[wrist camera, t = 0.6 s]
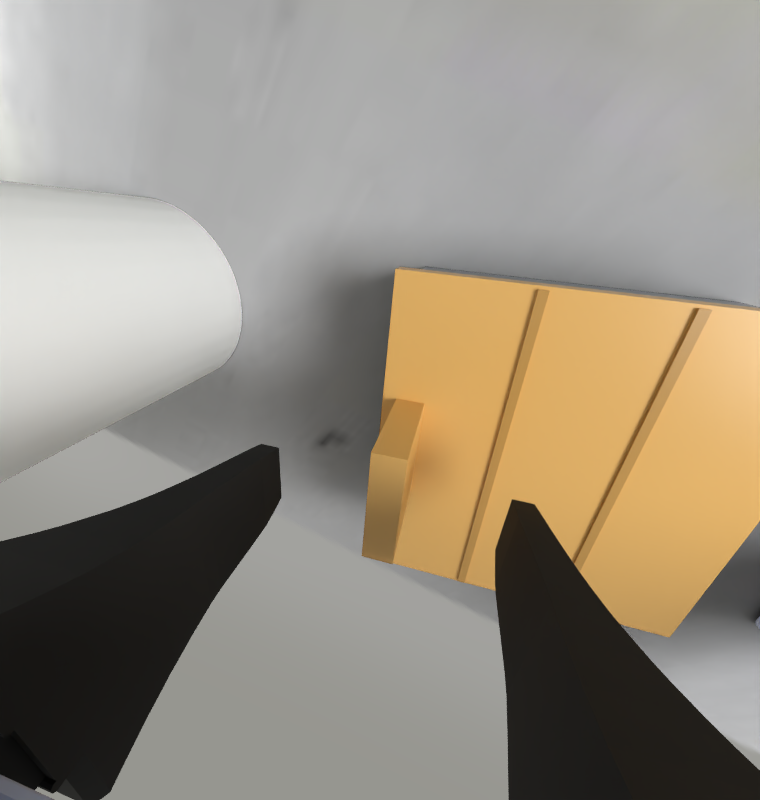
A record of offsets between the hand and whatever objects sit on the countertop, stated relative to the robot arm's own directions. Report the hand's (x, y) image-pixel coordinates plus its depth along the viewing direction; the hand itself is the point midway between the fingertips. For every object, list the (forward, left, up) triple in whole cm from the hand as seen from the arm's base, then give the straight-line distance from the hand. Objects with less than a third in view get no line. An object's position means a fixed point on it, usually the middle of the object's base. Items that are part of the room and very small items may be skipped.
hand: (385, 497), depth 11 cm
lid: (-5, 0, -4) cm, 7 cm away
